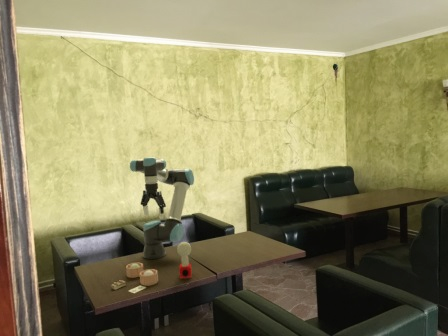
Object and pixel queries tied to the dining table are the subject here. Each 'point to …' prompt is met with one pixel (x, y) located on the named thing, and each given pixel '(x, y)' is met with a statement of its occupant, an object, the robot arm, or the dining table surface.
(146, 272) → the ball grey
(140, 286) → the card
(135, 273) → the cup
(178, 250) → the toy
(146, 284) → the cup
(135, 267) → the ball sage
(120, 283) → the cradle
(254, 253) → the dining table surface
